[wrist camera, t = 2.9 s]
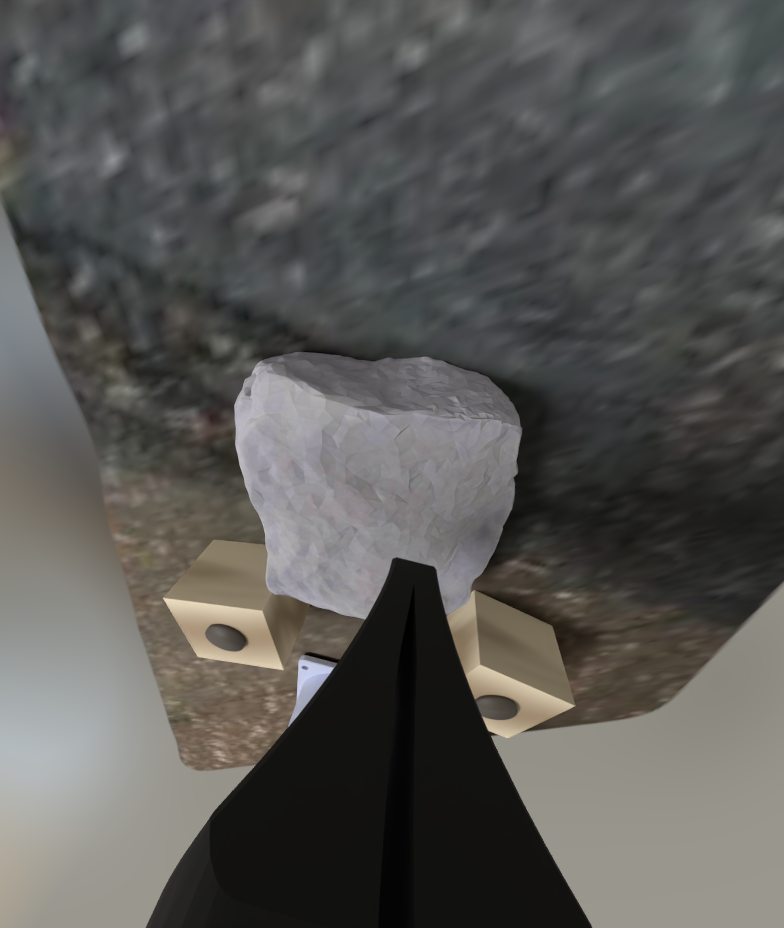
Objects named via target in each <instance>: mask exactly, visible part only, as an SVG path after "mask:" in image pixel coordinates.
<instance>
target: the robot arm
mask: <svg viewBox="0 0 784 928" xmlns="http://www.w3.org/2000/svg"><path fill="white" fill-rule="evenodd" d="M146 928H592V926H591V924H590V922H589V921H588V919H587V917H586V915H585V913H584V912H583V910H582V908H581V906H580V905H579V903H578V901H577V899H576V898H575V896H574V894H573V893H572V891H571V889H570V887H569V886H568V884H567V882H566V880H565V879H564V877H563V875H562V873H561V872H560V870H559V868H558V866H557V864H556V863H555V861H554V859H553V857H552V856H551V854H550V852H549V850H548V848H547V847H546V845H545V843H544V841H543V839H542V837H541V835H540V834H539V832H538V830H537V828H536V826H535V824H534V822H533V820H532V819H531V817H530V815H529V813H528V811H527V809H526V807H525V806H524V804H523V802H522V800H521V798H520V796H519V794H518V792H517V789H516V787H515V785H514V783H513V782H512V779H511V777H510V775H509V773H508V771H507V769H506V767H505V765H504V764H503V761H502V759H501V757H500V756H499V753H498V751H497V749H496V747H495V745H494V742H493V740H492V738H491V736H490V733H489V731H488V729H487V727H486V724H485V722H484V720H483V718H482V715H481V713H480V710H479V708H478V706H477V703H476V701H475V698H474V696H473V693H472V691H471V688H470V686H469V683H468V680H467V678H466V675H465V672H464V670H463V667H462V664H461V661H460V658H459V655H458V652H457V649H456V646H455V643H454V640H453V637H452V633H451V630H450V627H449V623H448V620H447V616H446V613H445V609H444V605H443V601H442V597H441V592H440V588H439V582H438V577H437V570H436V569H435V567H434V566H430V565H426V564H422V563H418V562H414V561H410V560H406V559H402V558H398V557H396V558H393V559H392V562H391V566H390V570H389V573H388V576H387V578H386V581H385V583H384V585H383V587H382V589H381V592H380V594H379V596H378V598H377V599H376V601H375V603H374V605H373V607H372V609H371V611H370V613H369V614H368V616H367V618H366V620H365V621H364V623H363V624H362V626H361V628H360V629H359V631H358V633H357V634H356V636H355V637H354V639H353V641H352V642H351V644H350V645H349V647H348V648H347V650H346V651H345V653H344V654H343V656H342V657H341V659H340V660H339V662H338V663H334V662H331V661H327V660H323V659H319V658H315V657H311V656H308V655H303V656H301V658H300V660H299V668H298V686H297V703H296V706H295V709H294V711H293V714H292V717H291V720H290V723H289V726H288V728H287V729H286V730H285V732H284V733H283V734H282V735H281V736H280V738H279V739H278V740H277V741H276V742H275V744H274V745H273V746H272V747H271V748H270V750H269V751H268V752H267V753H266V754H265V755H264V757H263V758H262V759H261V760H260V761H259V762H258V763H257V765H256V766H255V767H254V768H253V769H252V770H251V771H250V772H249V773H248V774H247V776H246V777H245V778H244V779H243V780H242V781H241V782H240V783H239V784H238V786H237V787H236V788H235V789H234V790H233V791H232V792H231V793H230V794H229V795H228V797H227V798H226V799H225V800H224V801H223V802H222V803H221V804H220V805H219V806H218V808H217V809H216V810H215V811H214V812H213V814H212V815H211V817H210V818H209V820H208V821H207V823H206V824H205V826H204V827H203V828H202V830H201V831H200V832H199V834H198V836H197V837H196V838H195V839H194V841H193V842H192V844H191V846H190V847H189V848H188V850H187V851H186V853H185V854H184V855H183V857H182V858H181V860H180V862H179V863H178V865H177V866H176V868H175V870H174V871H173V873H172V875H171V876H170V878H169V880H168V882H167V884H166V886H165V888H164V890H163V892H162V894H161V896H160V898H159V900H158V902H157V905H156V907H155V909H154V911H153V914H152V916H151V918H150V920H149V922H148V924H147V926H146Z"/></svg>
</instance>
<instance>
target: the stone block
mask: <svg viewBox="0 0 784 928" xmlns="http://www.w3.org/2000/svg"><path fill="white" fill-rule="evenodd" d="M234 407H235V424H236V442H235V445H236V450H237V454H238V458H239V464H240V468H241V470H242V473H243V476H244V481H245V486H246V488H247V490H248V493H249V496H250V500H251V502H252V504H253V506H254V508H255V509H256V511H257V512H258V514H259V516H260V519H261V521H262V524H263V527H264V531H265V543H266V549H267V552H268V557H267V567H266V576H265V578H266V585H267V587H268V589H269V591H271V592H272V593H274V594H275V595H282V596H289V597H293V598H296V599H298V600H300V601H302V602H305V603H309V604H311V605H313V606H316V607H319V608H323V609H329V610H332V611H334V612H337V613H339V614H342V615H346V616H353V617H358V618H362V619H366V618H367V616H368V614H369V613H370V611H371V609H372V607H373V605H374V603H375V601H376V599H377V598H378V596H379V594H380V592H381V589H382V587H383V585H384V583H385V581H386V578H387V576H388V573H389V570H390V566H391V562H392V559H393V558H396V557H398V558H402V559H406V560H410V561H414V562H418V563H422V564H426V565H430V566H434V567H435V569H436V570H437V577H438V582H439V588H440V592H441V597H442V601H443V605H444V609H445V613H446V614H450V613H452V612H454V611H455V610H456V609H458V608H460V607H462V606H463V605H465V604H467V602H468V601H469V599H470V596H471V588H472V583H473V581H474V579H476V578H477V577H478V576H480V575H481V574H482V573H483V571H484V569H485V568H486V566H487V564H488V562H489V559H490V558H491V556H492V554H493V553H494V551H495V549H496V546H497V544H498V541H499V539H500V536H501V533H502V531H503V525H504V523H505V522H506V520H507V518H508V516H509V514H510V511H511V510H512V507H513V502H514V497H515V482H514V476H516V475H517V474H518V466H517V462H516V460H517V456H518V450H519V444H520V439H521V435H522V428H521V425H520V419H519V415H518V413H517V411H516V409H515V406H514V403H512V402H511V401H510V400H509V398H508V397H507V396H506V395H505V394H504V393H503V392H502V390H501V389H500V388H498V387H497V386H496V385H495V384H494V383H493V382H492V381H491V380H490V379H489V377H487V376H484V375H481V374H479V373H477V372H474V371H468V370H464V369H462V368H459V367H456V366H453V365H450V364H448V363H446V362H444V361H442V360H436V359H433V358H430V357H420V358H407V359H393V358H391V357H388V358H385V359H382V360H378V361H375V362H372V361H366V360H356V359H353V358H350V357H343V356H340V355H330V354H322V353H309V352H294V353H292V354H285V355H282V356H277V357H272V358H269V359H265V360H262V361H260V362H259V363H258V364H257V365H256V367H255V369H254V370H253V373H252V376H250V377H249V378H247V379H245V381H244V384H243V388H242V391H241V392H240V394H239V396H238V398H237V400H236V403H235V405H234Z"/></svg>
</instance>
